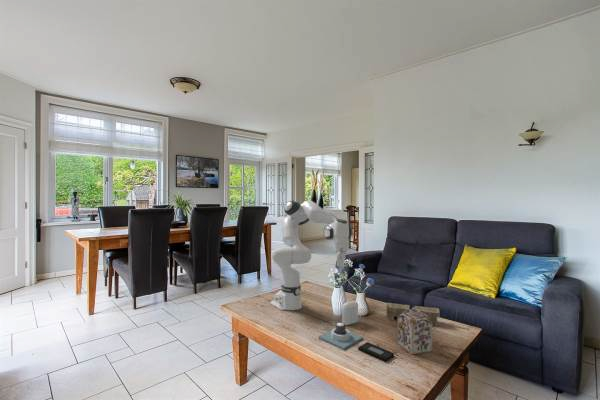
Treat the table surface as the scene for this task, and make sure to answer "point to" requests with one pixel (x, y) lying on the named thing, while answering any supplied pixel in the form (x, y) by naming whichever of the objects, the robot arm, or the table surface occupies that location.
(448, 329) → the table surface
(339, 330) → the dark grey block
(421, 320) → the decorative jar
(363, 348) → the vhs tape
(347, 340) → the dock
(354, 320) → the photo printer
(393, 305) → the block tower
